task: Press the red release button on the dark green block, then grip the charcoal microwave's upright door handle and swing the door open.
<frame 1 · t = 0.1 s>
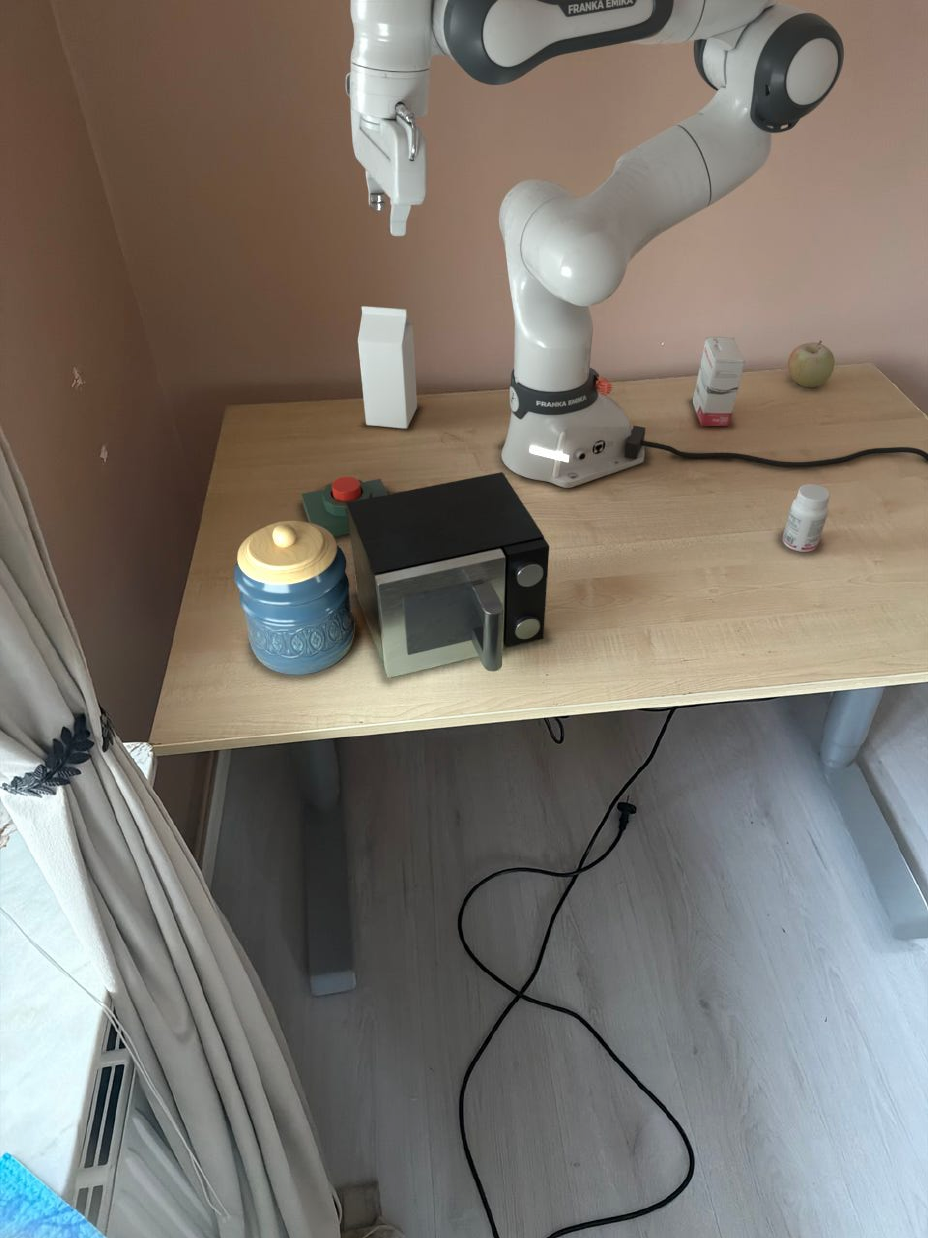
hand: (386, 220, 110), 39 cm above the table, tool pointing down, fingers open, 8 cm apart
canister: (304, 641, 112), on the table
ink box: (710, 415, 151), on the table
milk carton: (392, 417, 151), on the table
microwave door: (449, 630, 102), point 7 cm above the table, hinge at 0.0°
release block: (349, 514, 131), on the table
pill bottle: (799, 543, 125), on the table
fruit: (805, 383, 158), on the table
release button: (346, 489, 128), point 4 cm above the table, slide at 0.1 cm
microwave: (446, 613, 115), on the table
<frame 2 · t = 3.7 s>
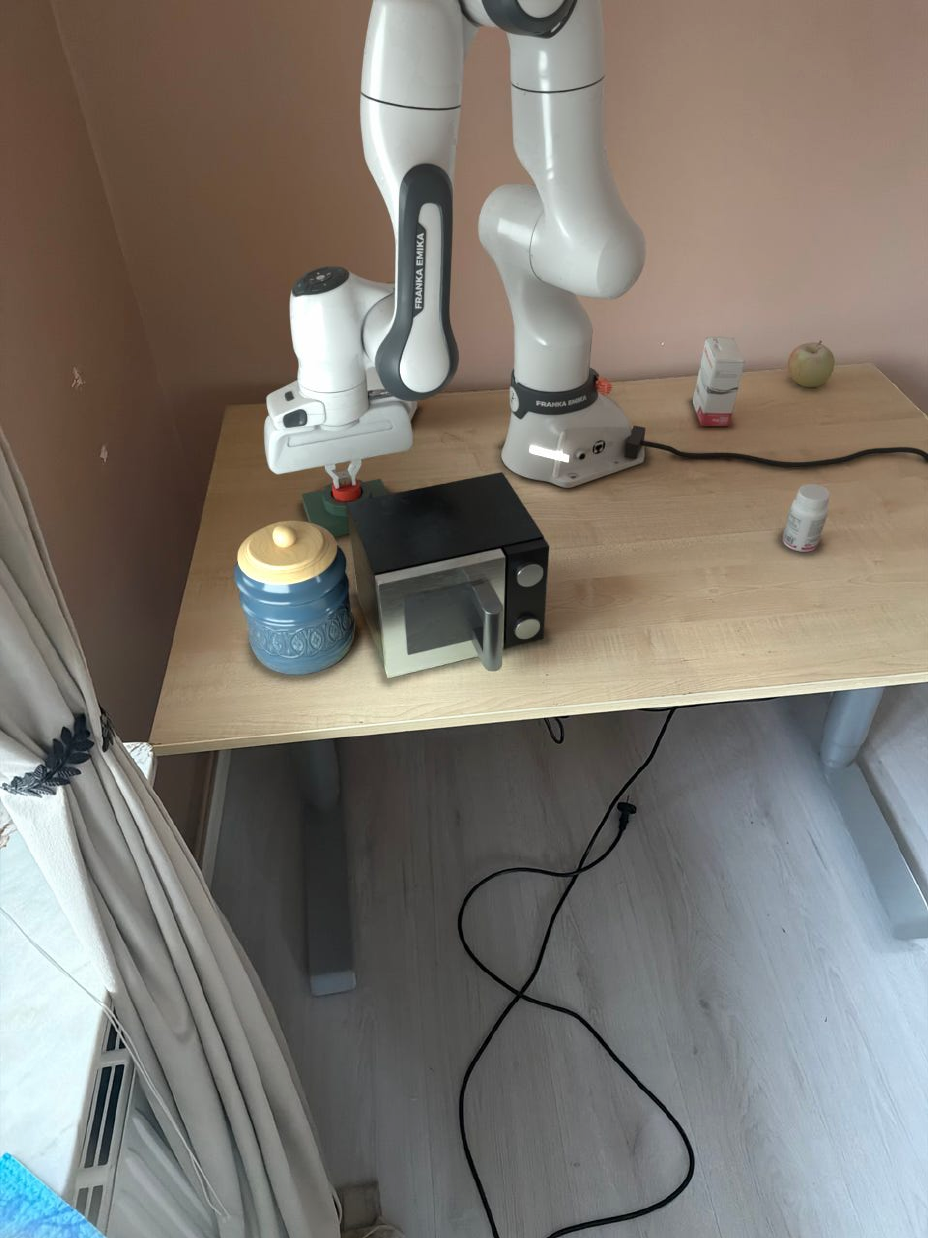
hand: (344, 484, 127), 5 cm above the table, tool pointing down, fingers closed, pressing on release button
release button: (346, 489, 128), point 4 cm above the table, slide at 0.1 cm, touching gripper
everything else where it was.
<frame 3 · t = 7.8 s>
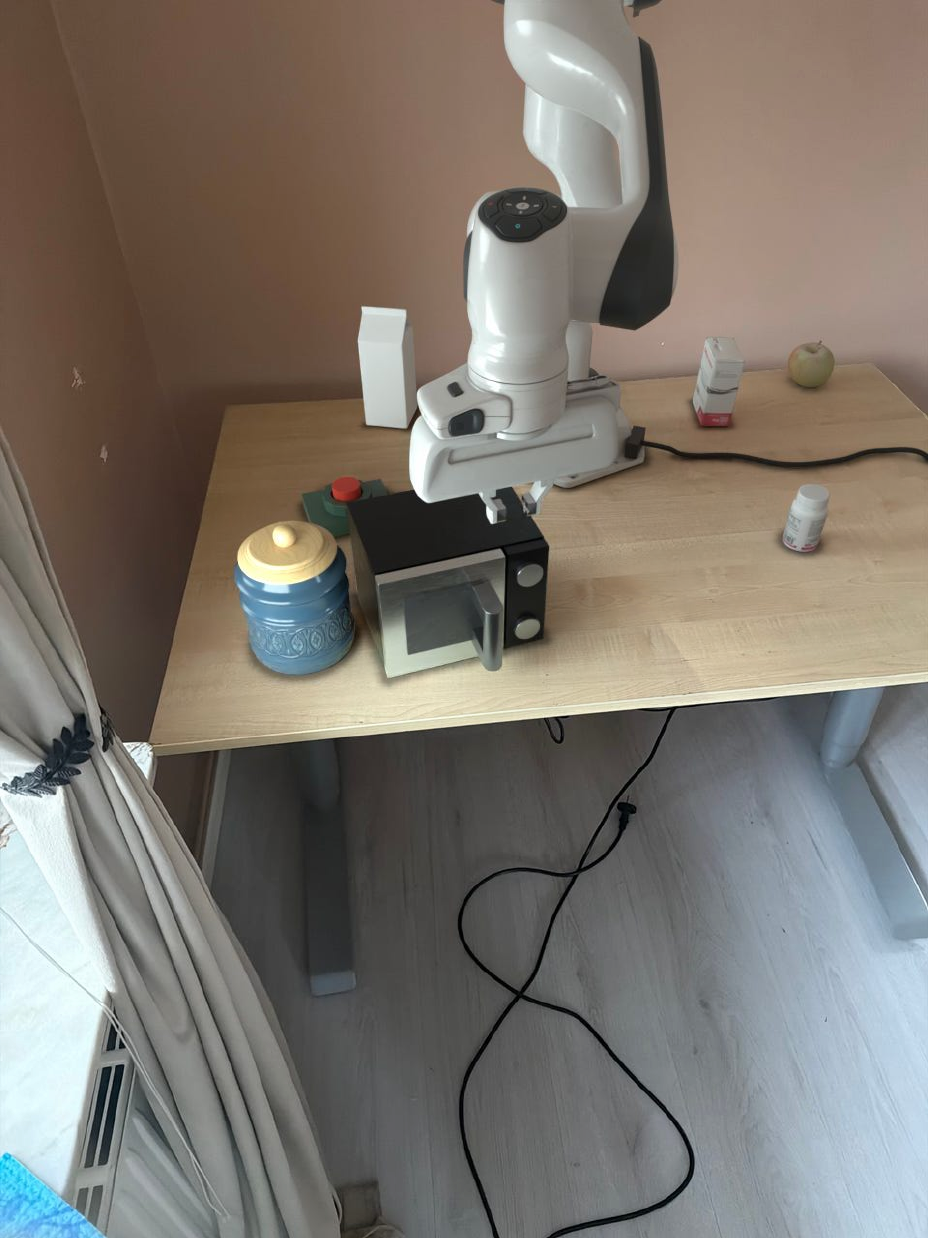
hand: (513, 515, 90), 24 cm above the table, tool pointing down, fingers closed
release button: (346, 489, 128), point 4 cm above the table, slide at 0.1 cm
everything else where it was.
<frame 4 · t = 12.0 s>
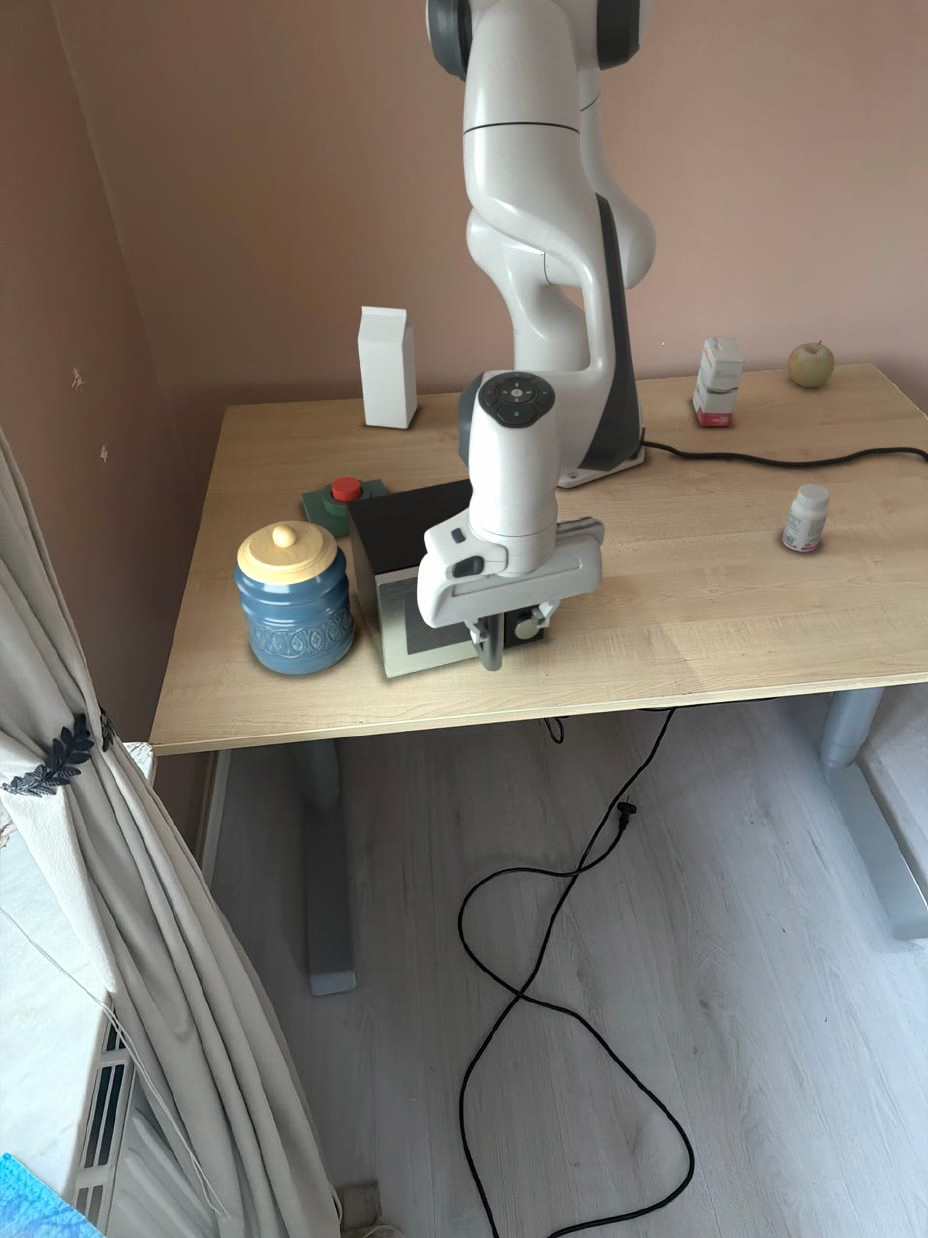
hand: (509, 631, 101), 8 cm above the table, tool pointing down, fingers open, 6 cm apart
microwave door: (449, 630, 102), point 7 cm above the table, hinge at 0.0°, touching gripper
everything else where it was.
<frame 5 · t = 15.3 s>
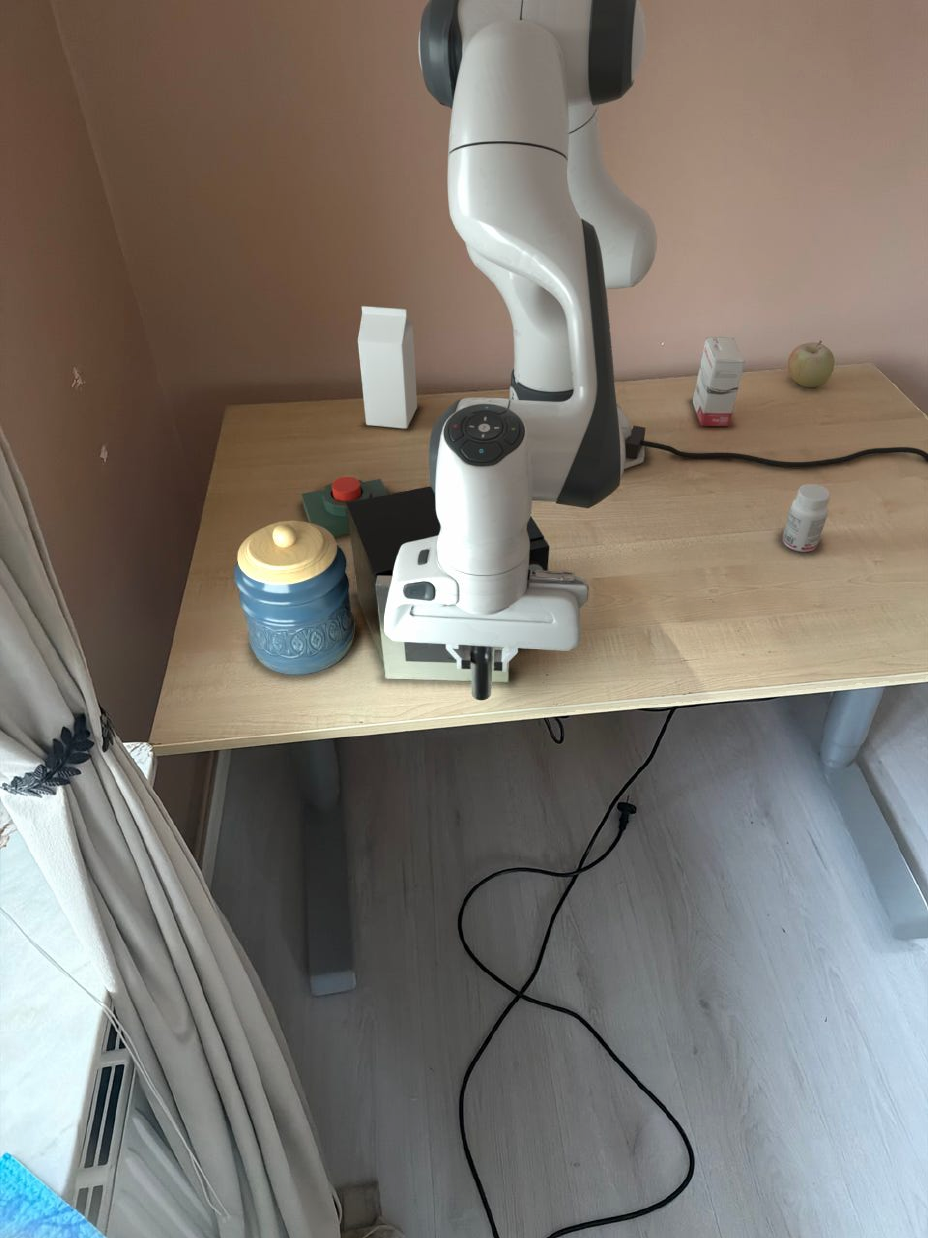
hand: (482, 666, 97), 8 cm above the table, tool pointing down, fingers closed
microwave door: (443, 648, 100), point 7 cm above the table, hinge at 21.2°, touching gripper
everything else where it was.
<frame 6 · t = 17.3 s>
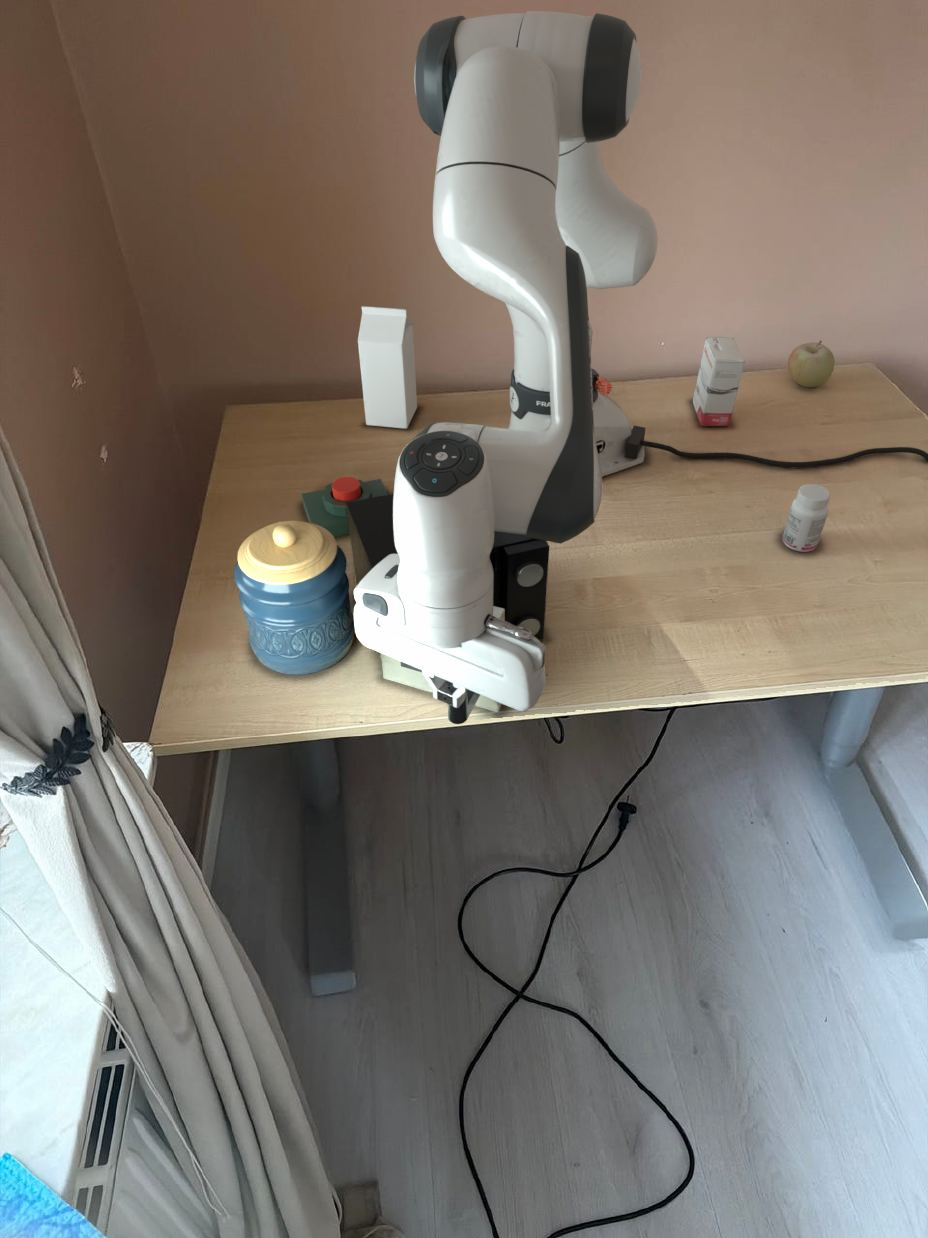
hand: (449, 699, 93), 8 cm above the table, tool pointing down, fingers closed
microwave door: (429, 662, 98), point 7 cm above the table, hinge at 40.7°
everything else where it was.
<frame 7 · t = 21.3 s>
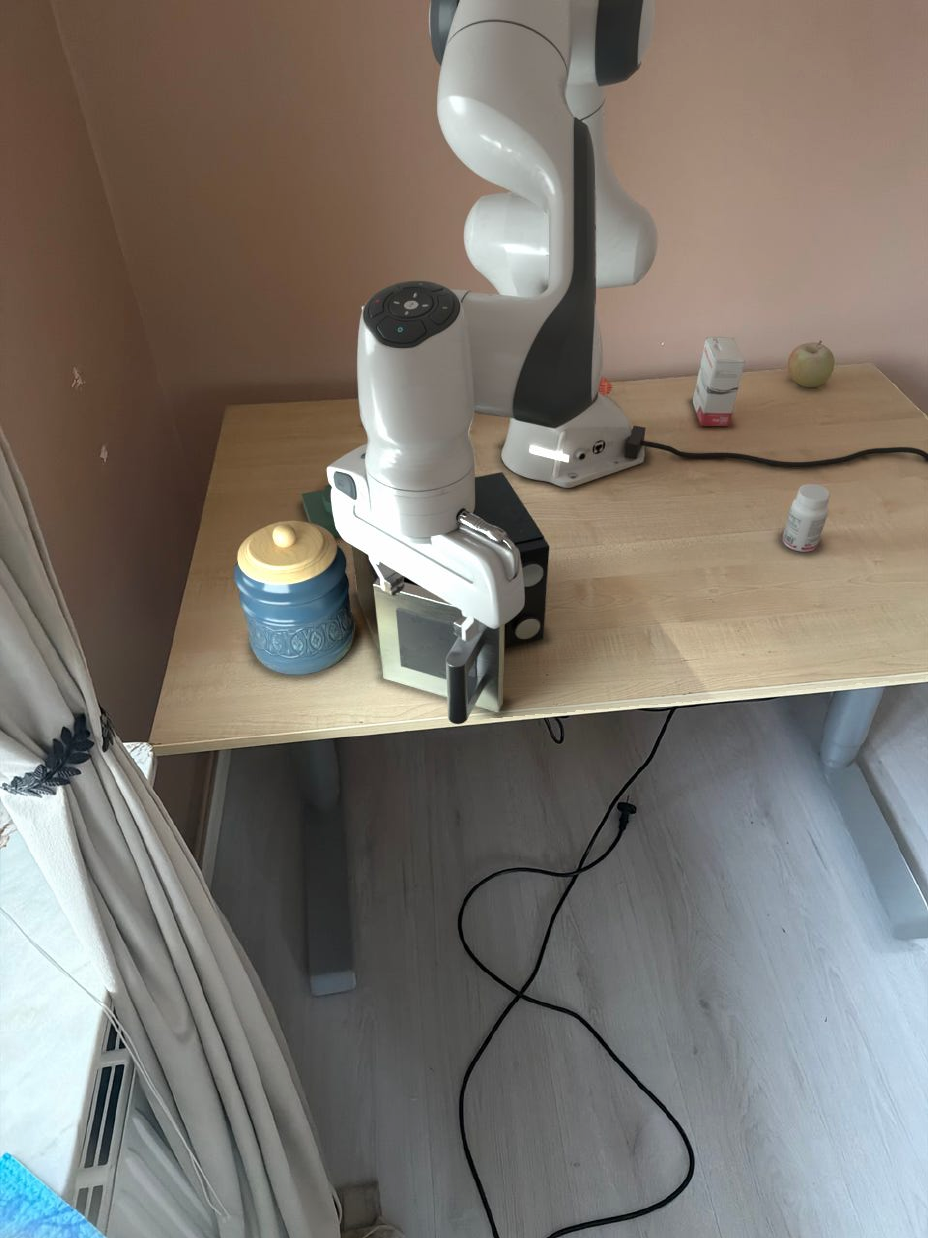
hand: (428, 611, 84), 21 cm above the table, tool pointing down, fingers open, 8 cm apart
nothing on the table moved.
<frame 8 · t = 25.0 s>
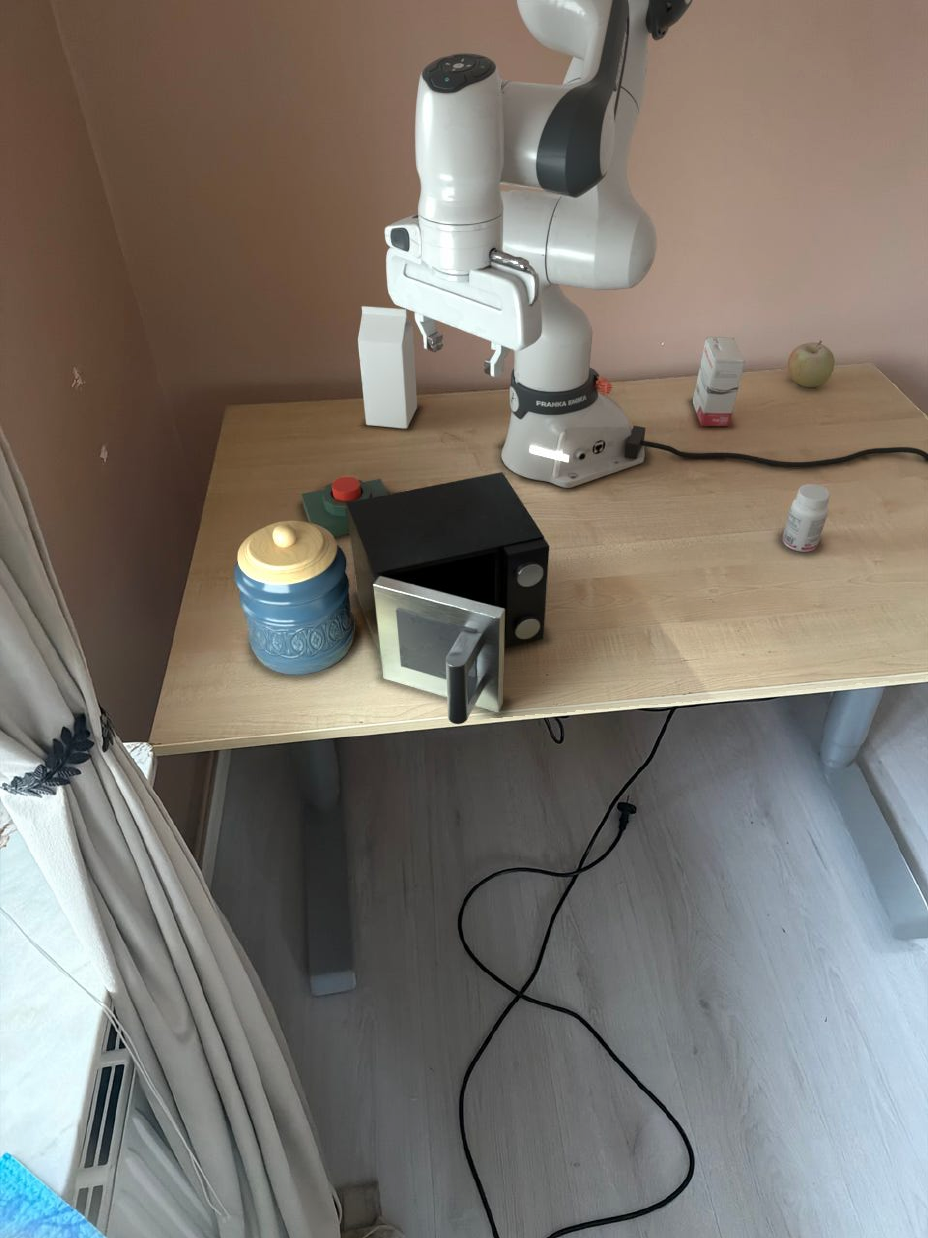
hand: (463, 361, 104), 29 cm above the table, tool pointing down, fingers open, 8 cm apart
nothing on the table moved.
at the end: release button pushed in 1.1 cm at the most during the clip, back to where it started at the end; release button slide at 0.1 cm; microwave door at +41° (first picture: +0°) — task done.
